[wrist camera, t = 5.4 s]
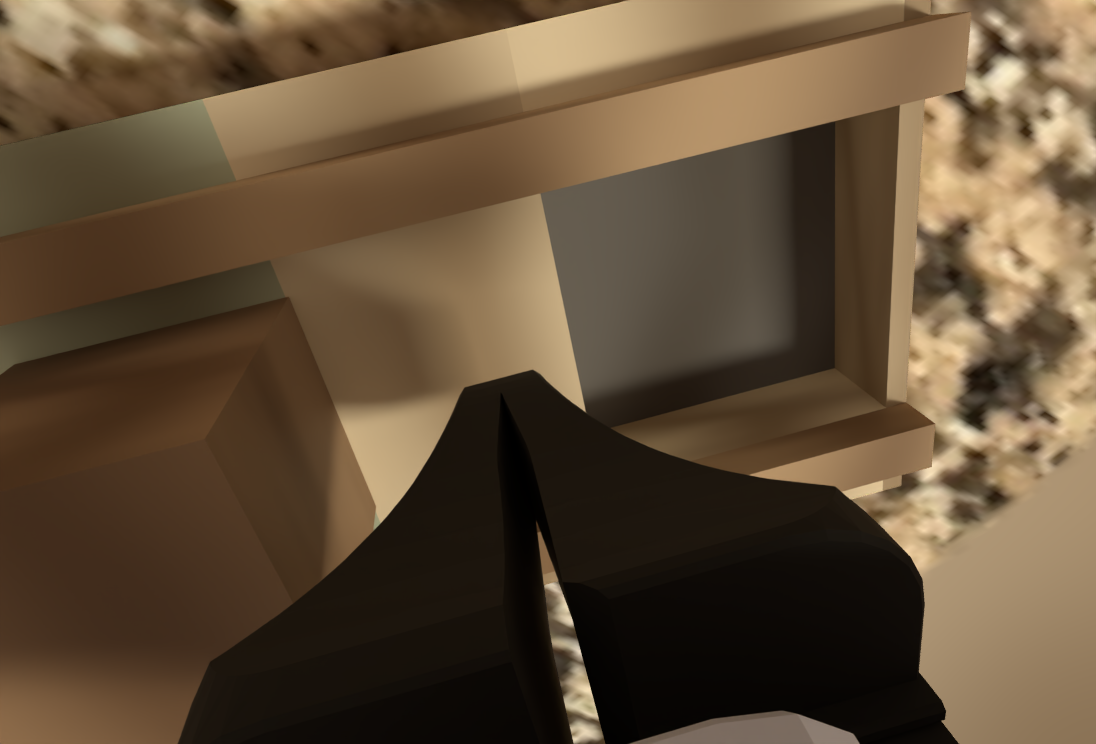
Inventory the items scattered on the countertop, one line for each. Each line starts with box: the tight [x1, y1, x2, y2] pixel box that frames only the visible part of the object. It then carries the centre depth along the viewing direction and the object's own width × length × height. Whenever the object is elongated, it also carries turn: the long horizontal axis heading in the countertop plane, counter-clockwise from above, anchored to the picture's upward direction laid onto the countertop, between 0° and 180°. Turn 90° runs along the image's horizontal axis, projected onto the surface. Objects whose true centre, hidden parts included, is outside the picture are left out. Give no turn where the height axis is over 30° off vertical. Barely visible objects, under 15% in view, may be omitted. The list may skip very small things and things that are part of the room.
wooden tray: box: [0, 0, 971, 585], centre depth 14 cm, size 18×12×4 cm, turn 103°
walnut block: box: [0, 297, 376, 744], centre depth 11 cm, size 5×5×5 cm
